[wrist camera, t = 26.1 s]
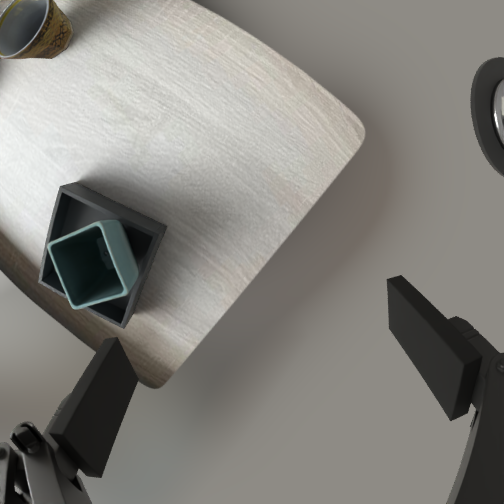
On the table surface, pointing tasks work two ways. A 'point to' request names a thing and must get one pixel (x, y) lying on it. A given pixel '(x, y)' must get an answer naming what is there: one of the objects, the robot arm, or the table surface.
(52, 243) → the flower pot
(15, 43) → the ceramic cup
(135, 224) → the tote
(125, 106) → the table surface
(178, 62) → the table surface
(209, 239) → the table surface
